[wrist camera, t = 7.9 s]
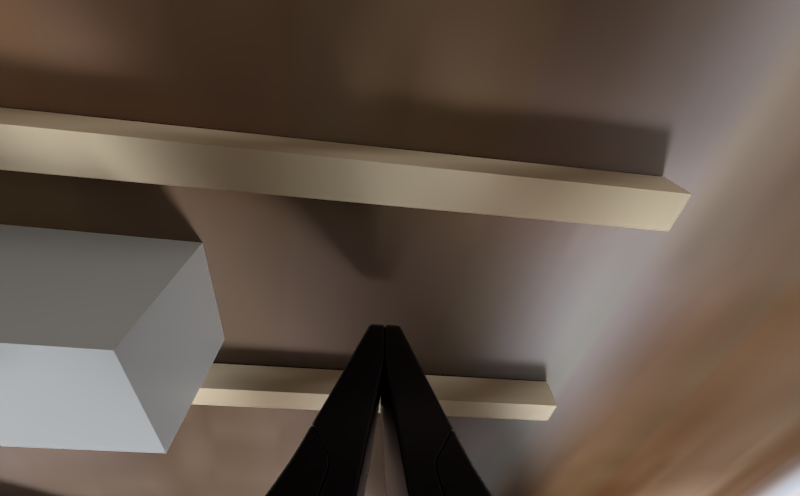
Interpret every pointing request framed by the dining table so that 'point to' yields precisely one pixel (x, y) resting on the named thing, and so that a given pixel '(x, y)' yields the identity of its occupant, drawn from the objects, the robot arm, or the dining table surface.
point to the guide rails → (340, 181)
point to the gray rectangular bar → (101, 338)
